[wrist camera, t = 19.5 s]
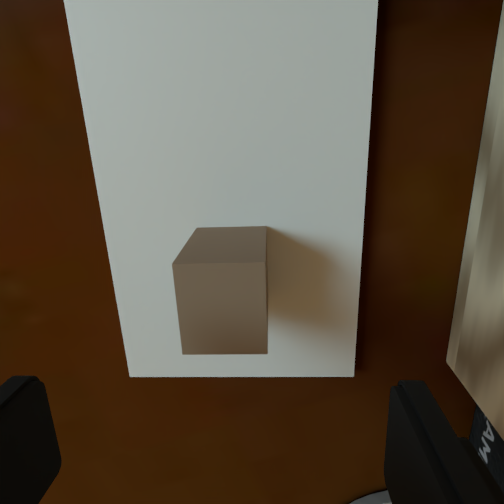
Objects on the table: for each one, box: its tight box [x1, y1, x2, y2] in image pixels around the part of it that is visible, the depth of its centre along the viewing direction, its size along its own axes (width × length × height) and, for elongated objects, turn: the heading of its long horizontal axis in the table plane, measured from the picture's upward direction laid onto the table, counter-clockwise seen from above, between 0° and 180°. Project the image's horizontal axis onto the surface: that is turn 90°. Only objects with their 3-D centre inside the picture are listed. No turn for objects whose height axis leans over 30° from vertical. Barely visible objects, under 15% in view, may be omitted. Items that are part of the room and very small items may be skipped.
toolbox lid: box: [64, 0, 378, 377], centre depth 16 cm, size 22×13×6 cm, turn 2°
